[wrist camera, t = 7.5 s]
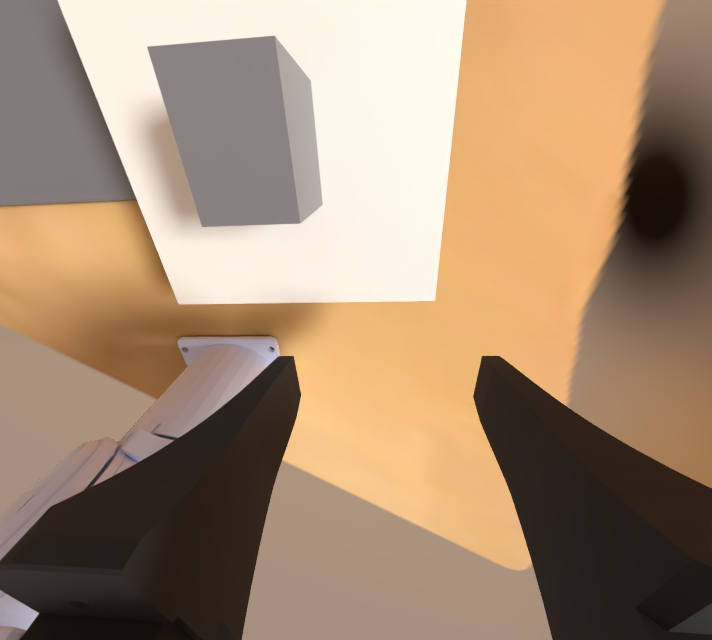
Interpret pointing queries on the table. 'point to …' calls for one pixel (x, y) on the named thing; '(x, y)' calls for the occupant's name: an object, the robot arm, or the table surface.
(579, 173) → the table surface
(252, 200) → the lid
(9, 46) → the mat
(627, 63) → the table surface
